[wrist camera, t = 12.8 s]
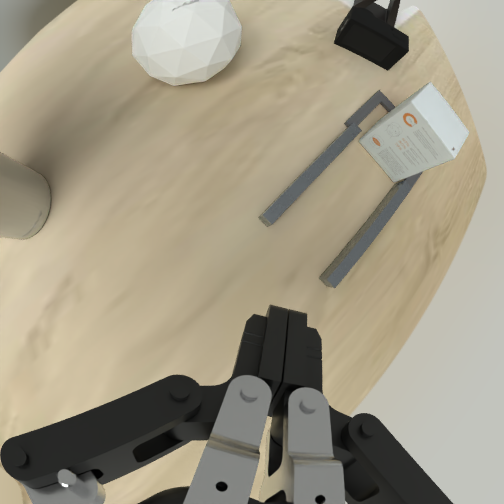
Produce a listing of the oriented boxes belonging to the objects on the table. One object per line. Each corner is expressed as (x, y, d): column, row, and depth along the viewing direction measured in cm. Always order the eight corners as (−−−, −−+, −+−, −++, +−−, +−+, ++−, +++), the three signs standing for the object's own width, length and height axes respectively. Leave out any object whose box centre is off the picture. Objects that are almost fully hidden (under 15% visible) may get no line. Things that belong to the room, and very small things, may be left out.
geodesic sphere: (197, -15, 29) (151, -46, 17) (277, 21, 31) (257, -12, 19) (149, 62, 36) (90, 59, 25) (221, 101, 38) (179, 106, 26)
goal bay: (344, 123, 38) (345, 121, 37) (377, 91, 39) (379, 90, 38) (406, 193, 39) (408, 192, 38) (432, 154, 40) (434, 153, 40)
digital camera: (389, 52, 40) (409, 32, 33) (388, 71, 40) (409, 51, 33) (338, 25, 38) (354, 1, 32) (333, 43, 38) (350, 18, 31)
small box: (412, 159, 39) (471, 133, 27) (393, 184, 39) (455, 160, 26) (378, 118, 39) (430, 80, 26) (356, 140, 38) (410, 101, 25)
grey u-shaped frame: (258, 217, 35) (262, 214, 33) (345, 129, 38) (353, 122, 35) (326, 286, 37) (335, 288, 34) (401, 191, 39) (411, 188, 36)
